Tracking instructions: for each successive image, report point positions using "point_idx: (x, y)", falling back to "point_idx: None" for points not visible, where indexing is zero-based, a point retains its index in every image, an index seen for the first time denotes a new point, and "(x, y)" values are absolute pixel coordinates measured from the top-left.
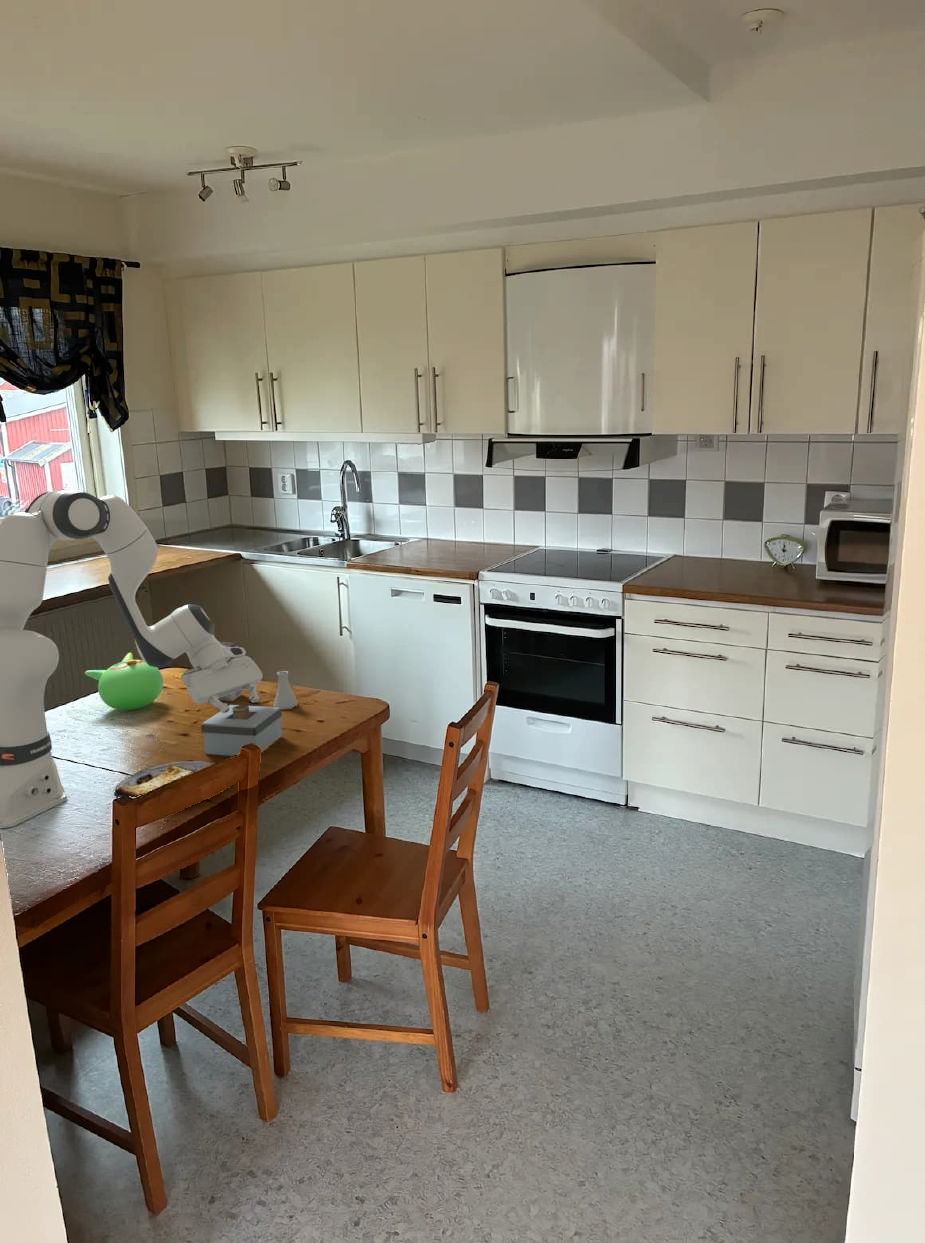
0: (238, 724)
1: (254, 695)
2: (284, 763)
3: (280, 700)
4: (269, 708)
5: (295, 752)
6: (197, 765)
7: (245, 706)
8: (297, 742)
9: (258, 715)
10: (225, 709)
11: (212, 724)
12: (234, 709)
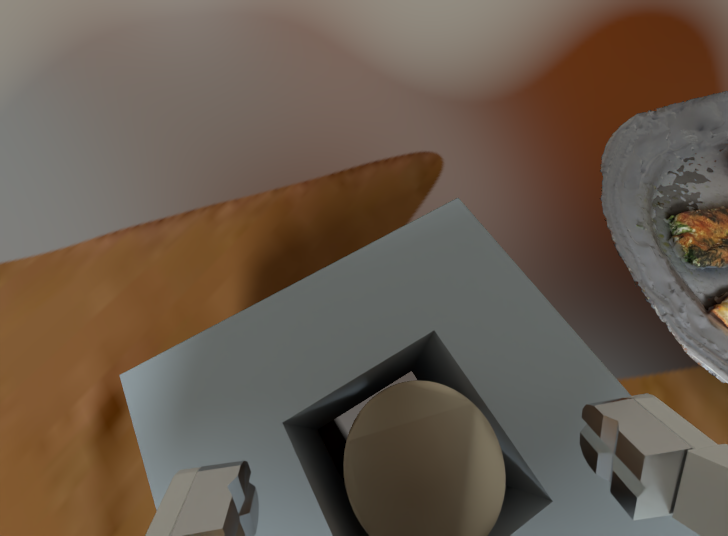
0: (519, 292)
1: (203, 503)
2: (389, 171)
3: None
4: (172, 422)
5: (304, 218)
6: (698, 336)
7: (369, 460)
8: (227, 292)
9: (328, 343)
10: (641, 394)
11: None
12: (493, 465)
